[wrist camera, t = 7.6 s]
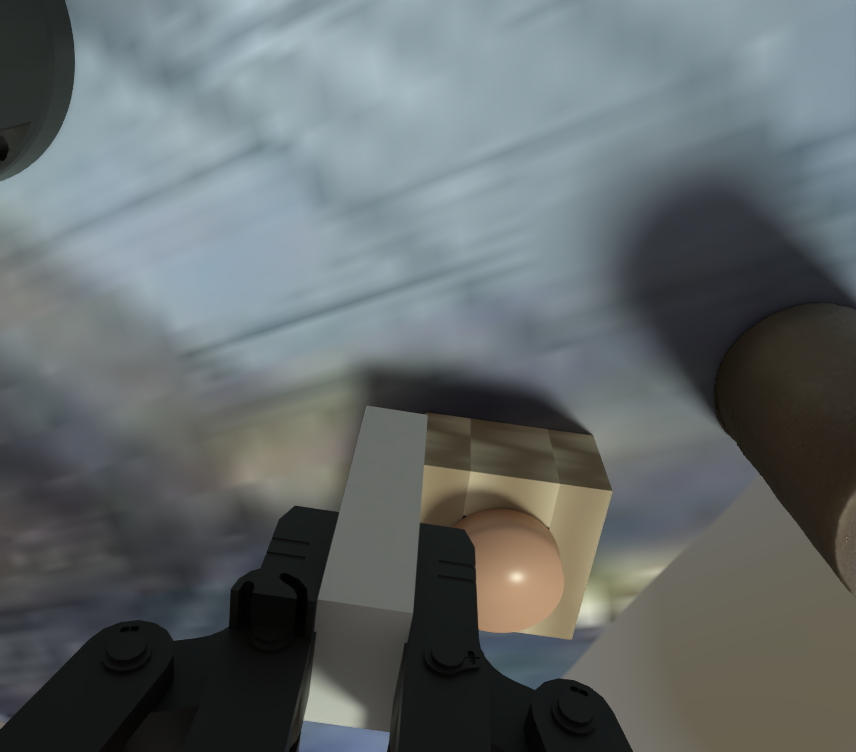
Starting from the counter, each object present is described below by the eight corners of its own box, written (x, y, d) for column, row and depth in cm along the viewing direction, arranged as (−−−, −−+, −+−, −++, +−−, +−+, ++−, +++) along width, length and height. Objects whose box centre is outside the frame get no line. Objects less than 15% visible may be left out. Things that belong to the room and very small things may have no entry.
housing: (405, 549, 45) (396, 615, 39) (425, 411, 41) (418, 463, 35) (558, 570, 45) (571, 639, 39) (593, 435, 41) (612, 491, 35)
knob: (436, 537, 43) (430, 623, 36) (450, 448, 41) (447, 523, 34) (537, 551, 43) (550, 640, 36) (558, 463, 41) (576, 541, 34)
